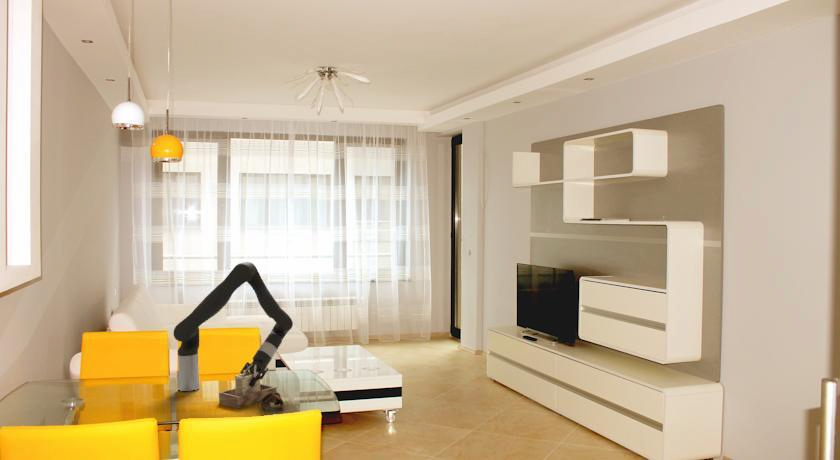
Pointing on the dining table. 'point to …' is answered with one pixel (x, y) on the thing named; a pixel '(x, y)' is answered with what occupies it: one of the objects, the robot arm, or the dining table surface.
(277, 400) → the pottery mug
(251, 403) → the walnut crate
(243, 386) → the birch crate
